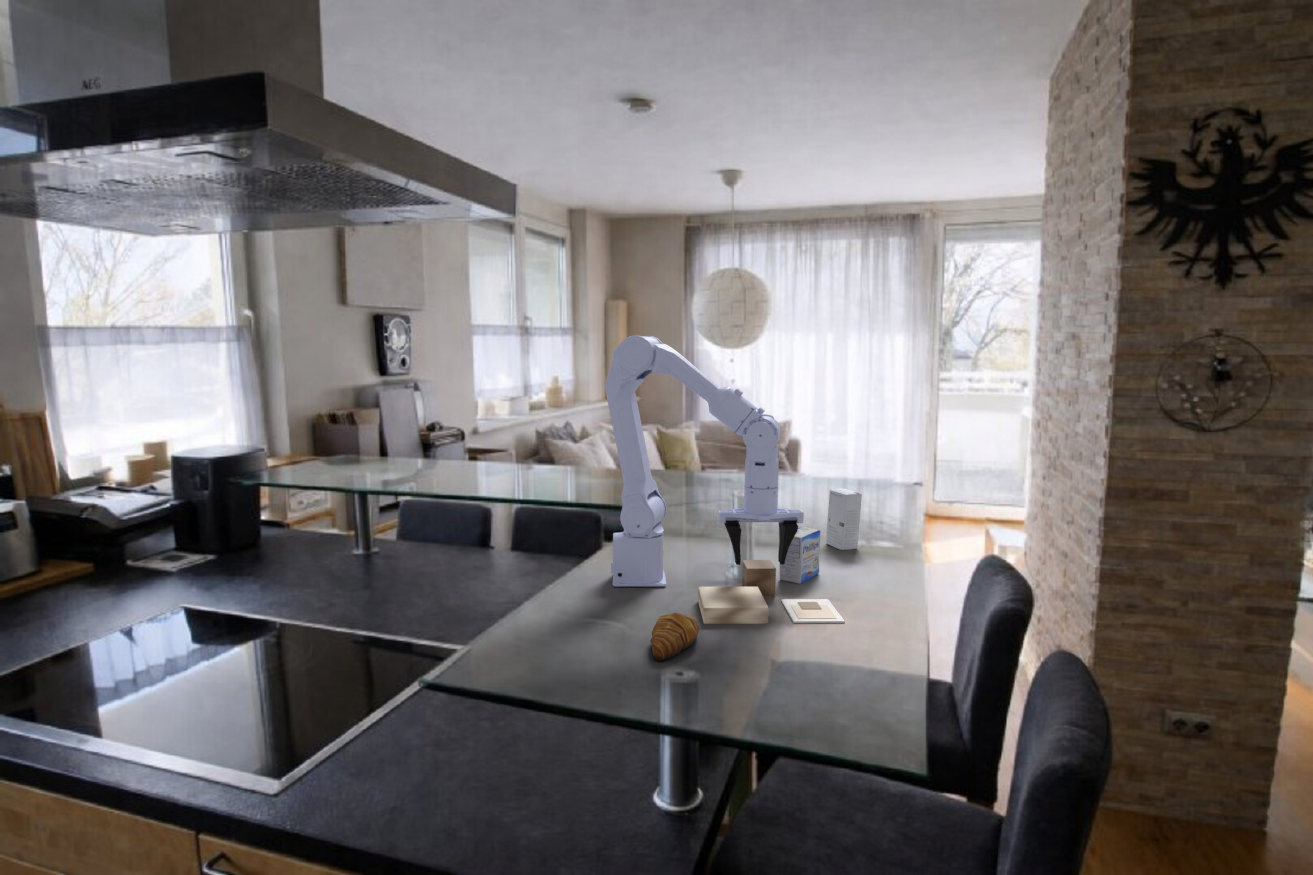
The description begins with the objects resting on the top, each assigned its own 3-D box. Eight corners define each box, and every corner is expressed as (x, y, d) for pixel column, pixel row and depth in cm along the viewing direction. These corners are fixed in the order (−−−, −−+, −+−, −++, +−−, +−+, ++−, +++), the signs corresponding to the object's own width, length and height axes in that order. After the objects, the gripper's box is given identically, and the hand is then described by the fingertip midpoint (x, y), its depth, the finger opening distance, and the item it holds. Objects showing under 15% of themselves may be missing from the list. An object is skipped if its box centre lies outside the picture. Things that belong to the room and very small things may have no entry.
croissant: (670, 626, 116) (671, 594, 115) (712, 633, 113) (713, 601, 113) (634, 660, 104) (634, 625, 103) (679, 668, 101) (680, 632, 100)
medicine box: (800, 585, 136) (802, 538, 134) (778, 580, 138) (779, 534, 137) (819, 574, 142) (821, 529, 141) (798, 569, 144) (799, 525, 143)
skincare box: (825, 543, 163) (827, 488, 162) (842, 541, 165) (844, 487, 163) (842, 551, 158) (844, 494, 156) (859, 549, 159) (862, 492, 158)
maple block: (703, 626, 117) (704, 607, 116) (698, 603, 126) (698, 586, 126) (767, 626, 117) (768, 607, 117) (757, 603, 127) (757, 586, 126)
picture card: (793, 623, 117) (793, 620, 117) (780, 600, 127) (781, 598, 127) (844, 622, 117) (844, 619, 117) (828, 600, 127) (828, 598, 127)
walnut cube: (746, 596, 129) (746, 568, 129) (741, 587, 134) (742, 560, 134) (775, 596, 129) (776, 568, 129) (769, 587, 134) (770, 560, 134)
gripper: (722, 490, 125) (720, 570, 127) (808, 490, 126) (806, 569, 127) (717, 482, 132) (716, 558, 134) (799, 482, 133) (797, 557, 134)
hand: (759, 563), depth 131 cm, fingers open, 7 cm apart
